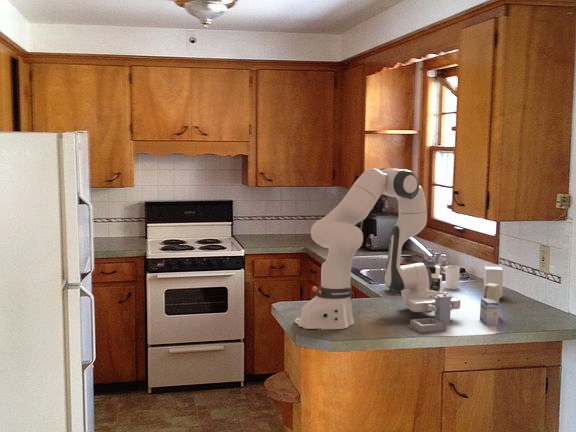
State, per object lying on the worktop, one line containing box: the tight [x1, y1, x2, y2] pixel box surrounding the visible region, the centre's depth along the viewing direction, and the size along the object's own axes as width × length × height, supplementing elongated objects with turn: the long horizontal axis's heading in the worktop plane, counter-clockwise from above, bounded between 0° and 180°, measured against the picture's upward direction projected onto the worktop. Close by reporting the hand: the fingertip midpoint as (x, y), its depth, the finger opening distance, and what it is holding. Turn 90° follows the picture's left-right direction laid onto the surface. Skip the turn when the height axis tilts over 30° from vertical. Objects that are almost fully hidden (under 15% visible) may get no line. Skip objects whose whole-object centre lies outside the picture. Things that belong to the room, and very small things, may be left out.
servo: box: [434, 291, 453, 327], centre depth 267 cm, size 6×4×12 cm, turn 106°
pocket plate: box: [406, 317, 448, 334], centre depth 261 cm, size 11×10×3 cm
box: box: [483, 283, 500, 317], centre depth 278 cm, size 5×4×13 cm
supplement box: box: [483, 266, 504, 299], centre depth 315 cm, size 7×7×13 cm
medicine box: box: [479, 297, 500, 326], centre depth 269 cm, size 8×4×9 cm, turn 4°
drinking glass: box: [444, 265, 461, 290], centre depth 331 cm, size 7×7×10 cm
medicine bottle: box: [426, 264, 443, 292], centre depth 324 cm, size 7×7×12 cm
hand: (443, 309), depth 266 cm, fingers closed on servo, 4 cm apart
